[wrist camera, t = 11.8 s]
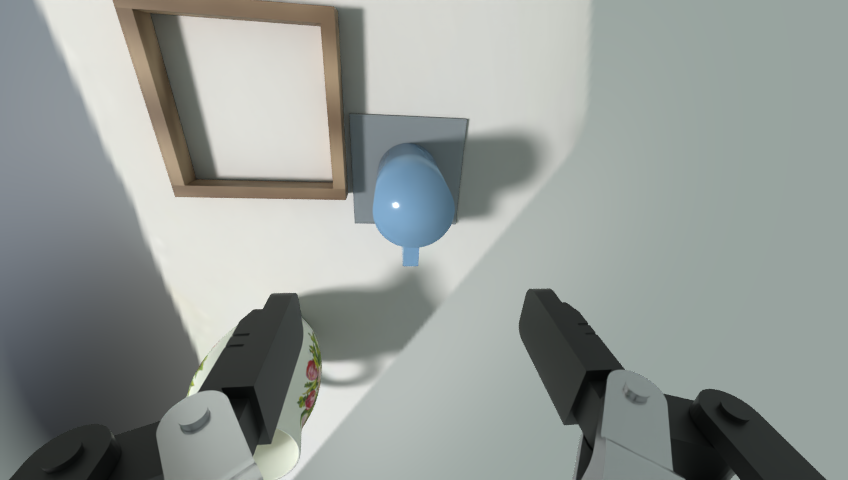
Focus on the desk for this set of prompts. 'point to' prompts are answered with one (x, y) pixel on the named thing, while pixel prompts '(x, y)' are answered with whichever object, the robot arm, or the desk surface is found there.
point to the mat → (388, 131)
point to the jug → (411, 200)
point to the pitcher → (295, 410)
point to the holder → (142, 43)
